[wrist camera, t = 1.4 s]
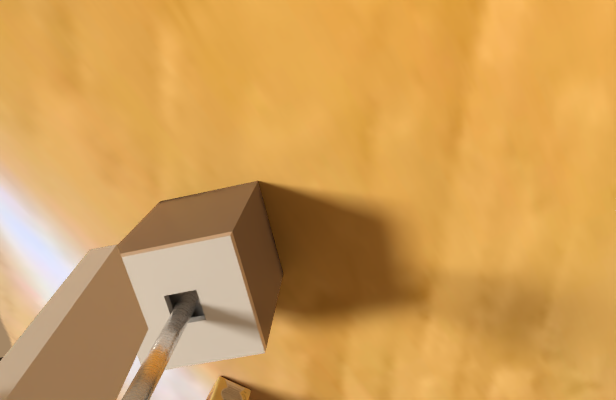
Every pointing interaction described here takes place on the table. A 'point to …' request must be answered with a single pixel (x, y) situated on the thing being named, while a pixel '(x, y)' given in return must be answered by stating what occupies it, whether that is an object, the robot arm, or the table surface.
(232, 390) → the candy box
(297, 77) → the table surface
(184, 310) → the plunger
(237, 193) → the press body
